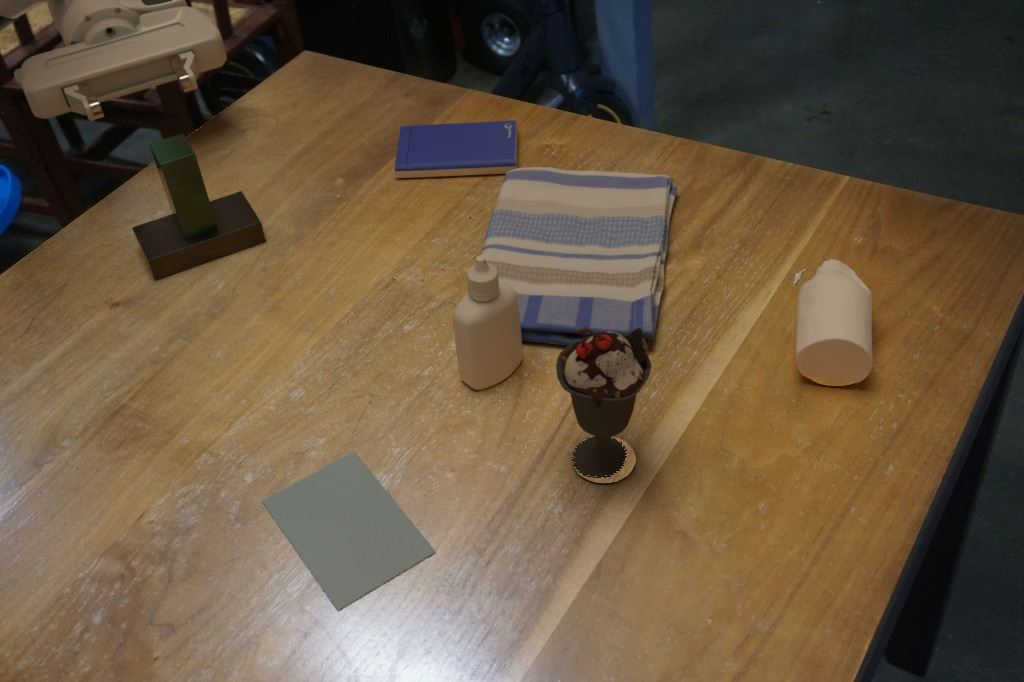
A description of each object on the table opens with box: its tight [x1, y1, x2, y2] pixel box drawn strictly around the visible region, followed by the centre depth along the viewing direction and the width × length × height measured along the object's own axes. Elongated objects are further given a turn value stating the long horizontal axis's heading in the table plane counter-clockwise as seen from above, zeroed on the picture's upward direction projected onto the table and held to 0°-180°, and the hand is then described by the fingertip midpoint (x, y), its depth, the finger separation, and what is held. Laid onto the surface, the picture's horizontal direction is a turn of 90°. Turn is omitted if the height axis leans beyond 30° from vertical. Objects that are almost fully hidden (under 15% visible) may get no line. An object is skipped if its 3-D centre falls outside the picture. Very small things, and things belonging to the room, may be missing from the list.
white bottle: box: [794, 258, 874, 383], centre depth 90 cm, size 6×12×6 cm, turn 167°
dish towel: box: [480, 166, 679, 346], centre depth 101 cm, size 17×24×3 cm
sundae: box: [555, 326, 652, 478], centre depth 79 cm, size 7×7×15 cm
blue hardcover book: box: [394, 119, 518, 179], centre depth 115 cm, size 2×8×12 cm
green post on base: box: [131, 133, 267, 281], centre depth 103 cm, size 11×6×11 cm, turn 118°
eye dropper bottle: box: [452, 254, 524, 391], centre depth 88 cm, size 4×6×12 cm
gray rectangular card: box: [261, 450, 436, 612], centre depth 81 cm, size 12×8×1 cm, turn 35°
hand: (142, 98), depth 108 cm, fingers open, 8 cm apart
